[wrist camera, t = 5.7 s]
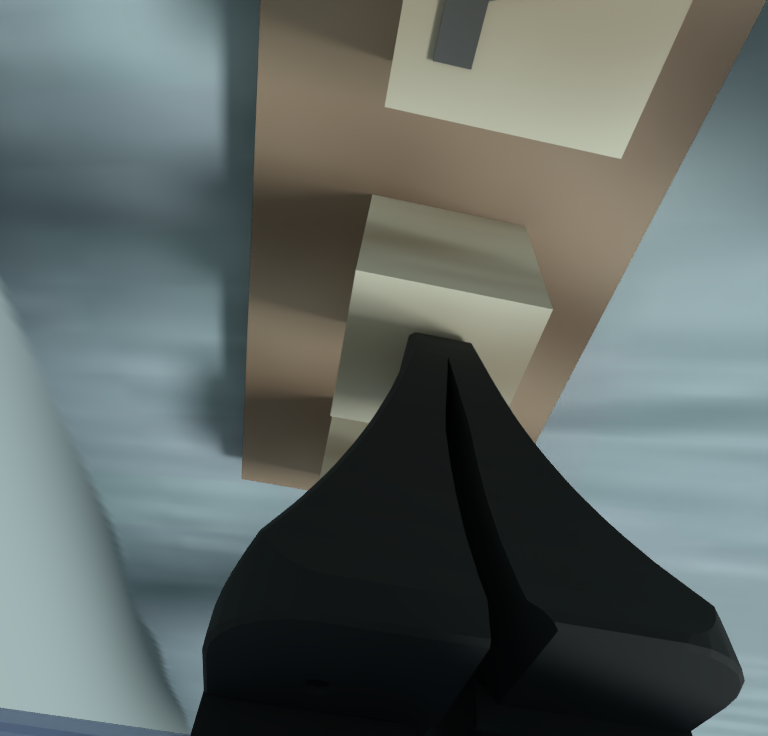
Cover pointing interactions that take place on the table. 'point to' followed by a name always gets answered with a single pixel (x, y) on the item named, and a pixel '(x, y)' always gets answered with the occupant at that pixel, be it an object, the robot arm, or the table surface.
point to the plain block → (437, 298)
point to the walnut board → (431, 204)
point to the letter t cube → (535, 65)
